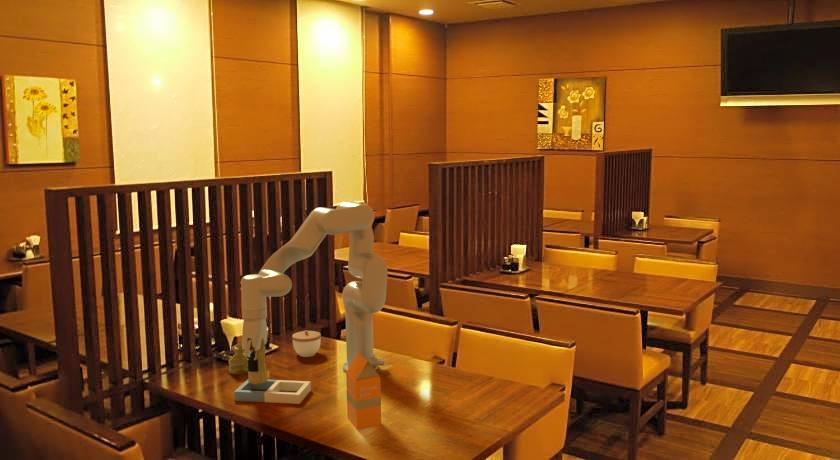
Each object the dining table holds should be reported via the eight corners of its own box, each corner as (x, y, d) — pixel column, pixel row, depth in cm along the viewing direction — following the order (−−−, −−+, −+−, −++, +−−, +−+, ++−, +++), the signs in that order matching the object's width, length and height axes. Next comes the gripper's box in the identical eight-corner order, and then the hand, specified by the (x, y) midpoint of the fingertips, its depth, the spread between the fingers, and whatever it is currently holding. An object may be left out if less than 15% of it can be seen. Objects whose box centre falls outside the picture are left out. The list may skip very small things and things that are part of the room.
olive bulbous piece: (255, 370, 251) (253, 343, 250) (239, 376, 245) (237, 348, 243) (240, 366, 255) (239, 340, 254) (224, 372, 249) (223, 345, 247)
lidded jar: (308, 360, 260) (307, 336, 259) (287, 356, 266) (285, 332, 265) (327, 352, 269) (326, 329, 268) (306, 348, 275) (305, 325, 274)
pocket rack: (310, 390, 231) (310, 381, 231) (299, 403, 220) (299, 394, 220) (248, 387, 235) (248, 378, 234) (234, 400, 223) (234, 391, 223)
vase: (262, 385, 224) (260, 341, 222) (244, 383, 225) (242, 340, 223) (270, 378, 230) (268, 336, 228) (252, 377, 231) (251, 335, 229)
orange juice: (356, 429, 201) (354, 362, 198) (347, 418, 209) (345, 353, 206) (382, 424, 204) (380, 358, 201) (371, 413, 212) (370, 349, 209)
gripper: (254, 306, 233) (256, 359, 236) (232, 320, 216) (235, 376, 219) (275, 307, 232) (277, 360, 235) (255, 321, 215) (258, 378, 218)
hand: (257, 367), depth 227 cm, fingers closed on vase, 5 cm apart
